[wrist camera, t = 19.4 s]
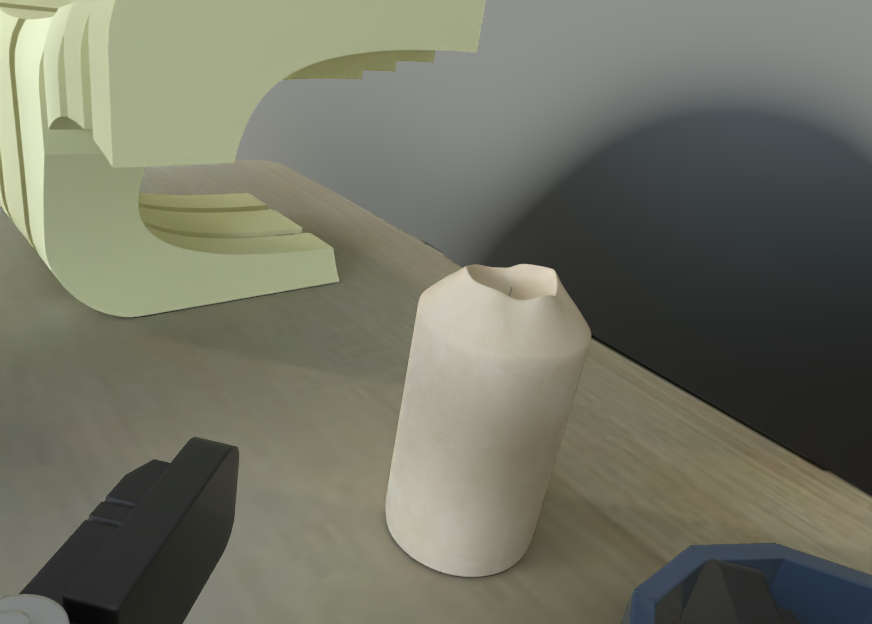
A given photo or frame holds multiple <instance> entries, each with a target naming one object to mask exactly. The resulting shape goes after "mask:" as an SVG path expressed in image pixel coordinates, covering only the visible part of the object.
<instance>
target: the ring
mask: <svg viewBox="0 0 872 624" xmlns="http://www.w3.org/2000/svg"><path fill="white" fill-rule="evenodd" d="M710 559H716V560H721V561H725V562H729V563H734V564H738V565H742V566H746V567H751V568H755V569H758V570H760V571H761V572H762V573H763V575H764V577H765V579H766V581H767V584H768V586H769V588H770V591H771V593H772V596H773V598H774V600H775V603H776V605H777V607H779V608H783V609H788V610H790V611H791V612H792V613H793V614H794V615H795V616H796V618H797V619H798V620H799V621H800V622H801V624H872V575H870V574H867V573H864V572H861V571H858V570H855V569H852V568H849V567H846V566H843V565H840V564H837V563H834V562H831V561H828V560H825V559H822V558H819V557H816V556H813V555H810V554H807V553H804V552H801V551H798V550H795V549H792V548H789V547H786V546H783V545H780V544H776V543H753V544H718V545H691V546H689V547H688V548H686V549H685V550H684V551H682V552H681V553H680V554H679V555H677V556H676V557H675V558H674V559H672V560H671V561H670V562H668V563H667V564H666V565H665V566H663V567H662V568H661V569H660V570H658V571H657V572H656V573H654V574H653V575H652V576H651V577H649V578H648V579H647V580H646V581H644V582H643V583H642V584H640V585H639V586H638V587H637V588H635V589H634V591H633V593H632V595H631V598H630V600H629V603H628V605H627V608H626V610H625V613H624V616H623V618H622V621H621V623H620V624H673V623H674V622H675V621H676V620H677V619H678V618H679V617H680V616H681V615H682V613H683V611H684V609H685V607H686V604H687V602H688V600H689V598H690V596H691V593H692V591H693V589H694V587H695V584H696V582H697V580H698V578H699V576H700V573H701V571H702V569H703V567H704V565H705V564H706V562H707V561H708V560H710Z"/></svg>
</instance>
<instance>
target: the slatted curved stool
mask: <svg viewBox="0 0 872 624" xmlns="http://www.w3.org/2000/svg"><path fill="white" fill-rule="evenodd" d="M485 3H486V0H0V206H1V207H2V208H3V210H4V211H5V212H6V213H7V215H8V216H9V217H10V219H11V220H12V221H13V222H14V224H15V225H16V226H17V228H18V229H19V230H20V231H21V233H22V234H23V235H24V237H25V238H26V239H27V240H28V242H29V243H30V244H31V246H32V247H33V248H34V250H35V251H36V252H37V253H38V255H39V256H40V257H41V259H42V260H43V261H44V262H45V264H46V265H47V266H48V268H49V269H50V270H51V272H52V273H53V274H54V275H55V277H56V278H57V279H58V280H59V282H60V283H61V284H62V285H63V287H64V288H65V289H66V290H67V291H68V292H69V293H71V294H72V295H73V296H74V297H75V298H76V299H78V300H79V301H81V302H82V303H84V304H86V305H87V306H89V307H91V308H92V309H95V310H98V311H100V312H103V313H106V314H108V315H114V316H120V317H138V316H145V315H150V314H156V313H162V312H168V311H173V310H179V309H185V308H191V307H196V306H202V305H208V304H214V303H219V302H225V301H231V300H237V299H242V298H248V297H254V296H260V295H265V294H271V293H277V292H283V291H288V290H294V289H300V288H306V287H311V286H317V285H323V284H329V283H334V282H339V278H338V274H337V269H336V264H335V258H334V249H333V247H331V246H330V245H328V244H327V243H325V242H324V241H322V240H321V239H319V238H317V237H316V236H314V235H313V234H311V233H302V227H300V226H299V225H297V224H296V223H294V222H293V221H291V220H290V219H288V218H286V217H285V216H283V215H282V214H280V213H279V212H277V211H276V210H274V209H271V210H267V205H266V204H265V203H263V202H262V201H260V200H258V199H257V198H255V197H254V196H252V195H251V194H249V193H238V194H220V195H160V194H147V193H139V191H140V185H141V182H142V178H143V175H144V172H145V170H146V167H148V166H176V165H203V164H230V163H234V161H235V157H236V153H237V149H238V146H239V143H240V140H241V138H242V135H243V132H244V129H245V127H246V125H247V123H248V121H249V119H250V117H251V115H252V113H253V111H254V110H255V108H256V106H257V105H258V103H259V102H260V101H261V100H262V98H263V97H264V96H265V94H266V93H267V92H268V91H269V90H270V89H272V88H273V87H274V86H275V85H276V84H277V83H278V82H280V81H281V80H287V79H312V78H313V79H314V78H317V79H318V78H319V79H321V78H323V79H324V78H325V79H326V78H327V79H330V78H331V79H333V78H335V79H362V71H363V70H371V71H372V70H373V71H395V70H396V62H397V61H414V62H431V63H433V62H434V55H435V50H444V51H463V52H477V49H478V43H479V37H480V31H481V26H482V20H483V14H484V8H485Z"/></svg>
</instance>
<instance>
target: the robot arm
mask: <svg viewBox="0 0 872 624" xmlns="http://www.w3.org/2000/svg"><path fill="white" fill-rule="evenodd" d="M238 465H239V450H238V447H236V446H232V445H228V444H224V443H219V442H215V441H211V440H207V439H202V438H198V437H193V438H192V439H190V440H189V441H188V442H187V444H186V445H185V446H184V447H183V449H182V450H181V451H180V452H179V453H178V455H177V456H176V457H175V458H174V460H173V461H172V462H171V463H168V462H164V461H159V460H155V459H154V460H152V461H150V462H148V463H146V464H145V465H143V466H141V467H139V468H137V469H136V470H134V471H132V472H130V473H128V474H127V475H125V476H124V477H123V478H122V479H121V481H120V482H119V483H118V484H117V485H116V486H115V487H114V488H113V490H112V491H111V492H110V493H109V494H108V495H107V496H106V499H105V501H104V502H101V503H100V504H99V505H98V506H97V507H96V509H95V510H94V511H93V512H92V513H91V514H90V515H89V519H88V520H85V521H84V522H83V523H82V524H81V525H80V527H79V528H78V529H77V530H76V531H75V532H74V533H73V534H72V536H71V537H70V538H69V539H68V540H67V541H66V542H65V543H64V544H63V546H62V547H61V548H60V549H59V550H58V551H57V552H56V553H55V555H54V556H53V557H52V558H51V559H50V560H49V561H48V562H47V564H46V565H45V566H44V567H43V568H42V569H41V570H40V571H39V572H38V574H37V575H36V576H35V577H34V578H33V579H32V580H31V581H30V583H29V584H28V585H27V586H26V587H25V588H24V589H23V590H22V591H21V592H20V593H19V594H17V595H11V596H5V597H1V598H0V624H182V623H183V622H184V620H185V618H186V617H187V615H188V613H189V611H190V610H191V608H192V606H193V604H194V603H195V601H196V599H197V597H198V596H199V594H200V592H201V591H202V589H203V587H204V585H205V584H206V582H207V580H208V578H209V577H210V575H211V573H212V572H213V570H214V568H215V566H216V565H217V563H218V561H219V559H220V558H221V556H222V554H223V552H224V550H225V548H226V546H227V543H228V540H229V537H230V534H231V531H232V527H233V522H234V516H235V503H236V491H237V478H238ZM678 624H801V622H800V621H799V620H798V619H797V618H796V616H795V615H794V614H793V613H792V612H791V611H790V610H788V609H783V608H779V607H777V605H776V603H775V600H774V598H773V596H772V593H771V591H770V588H769V586H768V584H767V581H766V579H765V577H764V575H763V573H762V572H761V571H760V570H758V569H755V568H751V567H746V566H742V565H738V564H734V563H729V562H725V561H721V560H716V559H710V560H708V561H707V562H706V564H705V565H704V567H703V569H702V571H701V573H700V576H699V578H698V580H697V582H696V584H695V587H694V589H693V591H692V593H691V596H690V598H689V600H688V602H687V604H686V607H685V609H684V611H683V613H682V615H681V618H680V620H679V622H678Z"/></svg>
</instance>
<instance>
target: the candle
mask: <svg viewBox="0 0 872 624" xmlns="http://www.w3.org/2000/svg"><path fill="white" fill-rule="evenodd" d="M590 340H591V331H590V328H589V326H588V324H587V323H586V321H585V319H584V318H583V316H582V314H581V313H580V311H579V310H578V308H577V307H576V305H575V304H574V302H573V301H572V299H571V298H570V296H569V295H568V293H567V292H566V291H565V288H564V287H563V285H562V284H561V282H560V280H559V278H558V276H557V274H556V272H555V271H554V270H553V269H551V268H546V267H542V266H537V265H529V264H519V265H516V266H513V267H510V268H498V267H497V268H496V267H486V266H483V265H469V266H466V267H464V268H462V269H460V270H458V271H456V272H454V273H452V274H450V275H448V276H447V277H445V278H443V279H442V280H440V281H438V282H437V283H435V284H434V285H432V286H431V287H429V288H428V289H427V290H425V291H424V292H423V293H422V295H421V296H420V299H419V302H418V308H417V314H416V320H415V326H414V332H413V338H412V344H411V350H410V356H409V362H408V368H407V374H406V380H405V386H404V392H403V398H402V404H401V410H400V416H399V422H398V428H397V434H396V440H395V446H394V452H393V458H392V464H391V470H390V476H389V482H388V489H387V496H386V507H385V511H386V521H387V525H388V528H389V531H390V533H391V535H392V537H393V538H394V539H395V541H396V542H397V544H398V545H399V546H400V547H401V548H402V549H403V550H404V551H405V552H406V553H407V554H409V555H410V556H411V557H412V558H414V559H415V560H417V561H418V562H420V563H422V564H424V565H426V566H428V567H430V568H432V569H435V570H437V571H440V572H444V573H447V574H451V575H457V576H466V577H480V576H488V575H492V574H496V573H499V572H502V571H504V570H506V569H508V568H510V567H512V566H513V565H515V564H516V563H517V562H518V561H519V560H520V559H521V558H522V557H523V556H524V554H525V552H526V551H527V549H528V547H529V545H530V543H531V540H532V537H533V534H534V531H535V528H536V525H537V522H538V519H539V515H540V512H541V508H542V505H543V502H544V498H545V495H546V491H547V488H548V484H549V481H550V478H551V474H552V471H553V467H554V464H555V460H556V457H557V454H558V450H559V447H560V443H561V440H562V437H563V433H564V430H565V426H566V423H567V419H568V416H569V413H570V409H571V406H572V402H573V399H574V395H575V392H576V389H577V385H578V382H579V378H580V375H581V372H582V368H583V365H584V361H585V358H586V354H587V351H588V347H589V344H590Z"/></svg>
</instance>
